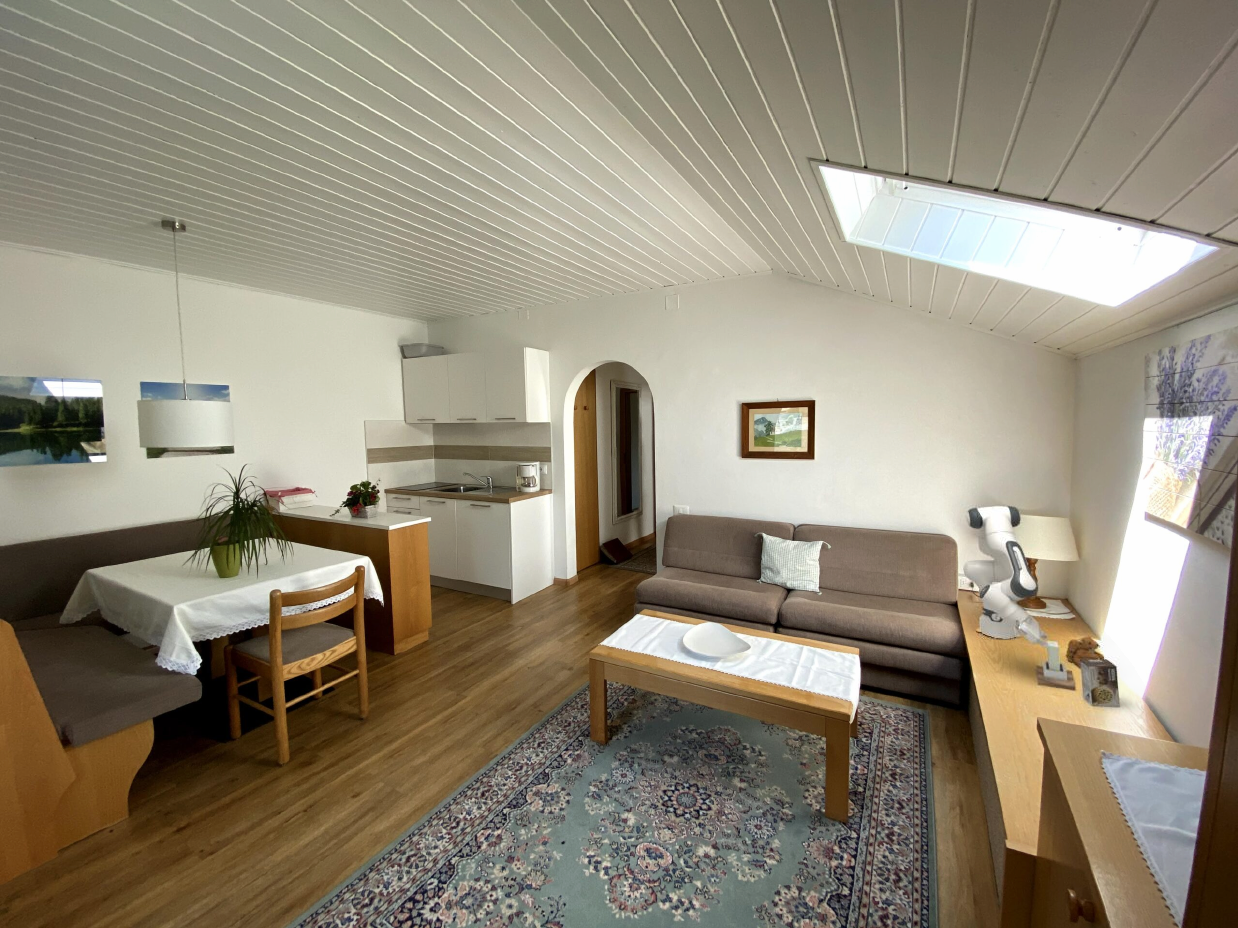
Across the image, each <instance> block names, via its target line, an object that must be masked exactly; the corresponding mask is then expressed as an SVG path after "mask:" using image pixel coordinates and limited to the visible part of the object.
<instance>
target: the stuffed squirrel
mask: <svg viewBox="0 0 1238 928" xmlns="http://www.w3.org/2000/svg"><path fill="white" fill-rule="evenodd" d="M1100 647H1101V645H1100V644H1099V643H1098V642H1097V641H1096V640H1094V639H1093V638H1092V637H1091V636H1089V635H1088V636H1086V637H1082V638H1081V637H1080V638H1078V639H1071V640H1069V642H1068V644H1067V649H1066V654H1065V657H1066V659H1067V660H1068V661H1069V662H1070V663H1071V664H1075V665H1076V666H1078V668H1079V669H1081V665H1080V659H1105V656H1104V654H1102V653H1100V652H1098V651H1096V650H1097V649H1098V648H1100Z"/></svg>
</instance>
